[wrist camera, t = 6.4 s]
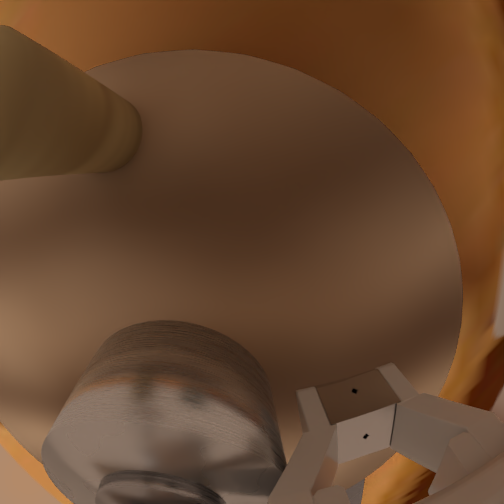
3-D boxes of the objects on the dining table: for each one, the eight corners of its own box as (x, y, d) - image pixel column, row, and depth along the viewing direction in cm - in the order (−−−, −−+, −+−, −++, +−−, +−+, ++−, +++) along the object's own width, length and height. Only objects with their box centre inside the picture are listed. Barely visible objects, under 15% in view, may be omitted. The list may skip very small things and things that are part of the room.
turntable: (-61, 176, 8) (-172, 200, 1) (404, 50, 9) (544, -17, 2) (91, 494, 13) (69, 576, 6) (410, 449, 14) (459, 532, 7)
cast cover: (62, 333, 8) (-13, 426, 4) (253, 302, 8) (279, 424, 4) (131, 458, 10) (111, 549, 5) (282, 444, 10) (304, 546, 6)
